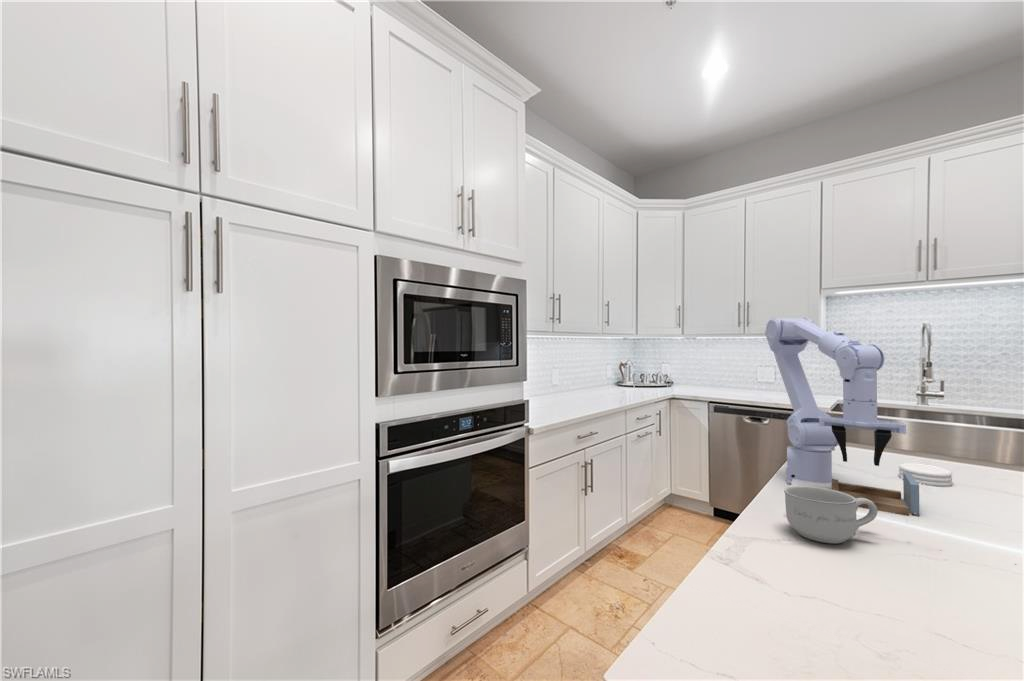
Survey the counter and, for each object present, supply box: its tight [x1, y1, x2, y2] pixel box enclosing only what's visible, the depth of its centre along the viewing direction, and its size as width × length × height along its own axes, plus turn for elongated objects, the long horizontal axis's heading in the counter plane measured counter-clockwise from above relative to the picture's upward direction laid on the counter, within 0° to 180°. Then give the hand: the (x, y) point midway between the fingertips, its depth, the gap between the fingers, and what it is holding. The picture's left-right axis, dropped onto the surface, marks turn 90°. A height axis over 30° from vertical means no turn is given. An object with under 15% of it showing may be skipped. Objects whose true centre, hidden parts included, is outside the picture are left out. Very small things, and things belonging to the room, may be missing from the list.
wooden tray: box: [831, 478, 910, 517], centre depth 91 cm, size 12×12×4 cm
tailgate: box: [902, 472, 920, 517], centre depth 87 cm, size 1×11×6 cm, turn 143°
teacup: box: [783, 485, 878, 544], centre depth 77 cm, size 14×11×8 cm
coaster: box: [898, 462, 953, 488], centre depth 110 cm, size 10×10×4 cm
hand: (860, 462), depth 92 cm, fingers open, 5 cm apart
